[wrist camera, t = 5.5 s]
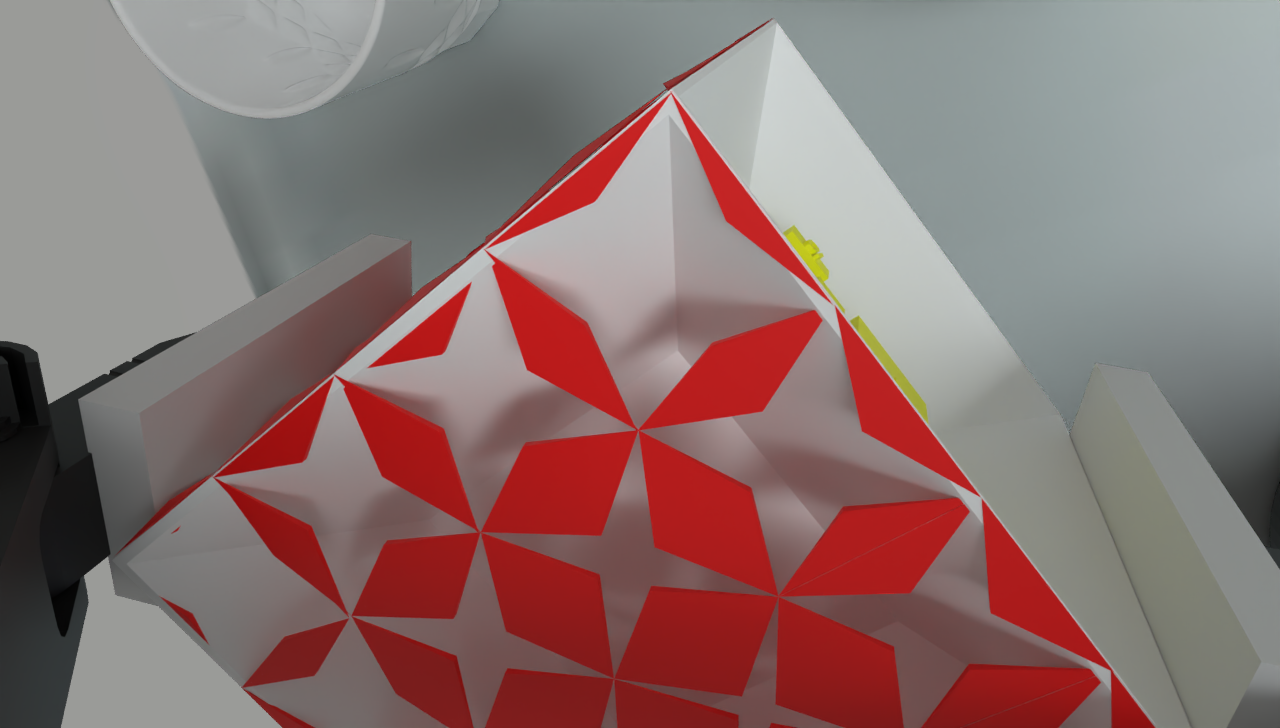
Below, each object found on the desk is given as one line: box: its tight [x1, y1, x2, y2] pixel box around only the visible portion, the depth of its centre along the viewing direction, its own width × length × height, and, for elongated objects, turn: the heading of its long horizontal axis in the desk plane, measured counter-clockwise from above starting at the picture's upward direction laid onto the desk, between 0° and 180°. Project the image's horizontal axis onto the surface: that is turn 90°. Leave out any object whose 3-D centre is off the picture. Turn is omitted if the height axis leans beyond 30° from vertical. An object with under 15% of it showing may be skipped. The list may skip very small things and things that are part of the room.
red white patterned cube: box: [112, 18, 1192, 728], centre depth 12 cm, size 8×8×8 cm
